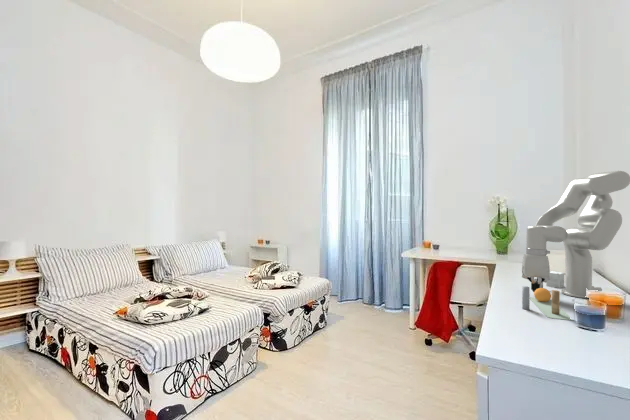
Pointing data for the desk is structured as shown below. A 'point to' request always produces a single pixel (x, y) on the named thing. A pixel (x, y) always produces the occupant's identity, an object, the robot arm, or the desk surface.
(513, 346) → the desk surface
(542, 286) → the grey stepped block
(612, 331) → the desk surface
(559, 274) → the skincare box
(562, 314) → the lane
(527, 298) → the grey pin
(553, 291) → the maple pin
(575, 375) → the desk surface
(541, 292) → the ball
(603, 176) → the robot arm
